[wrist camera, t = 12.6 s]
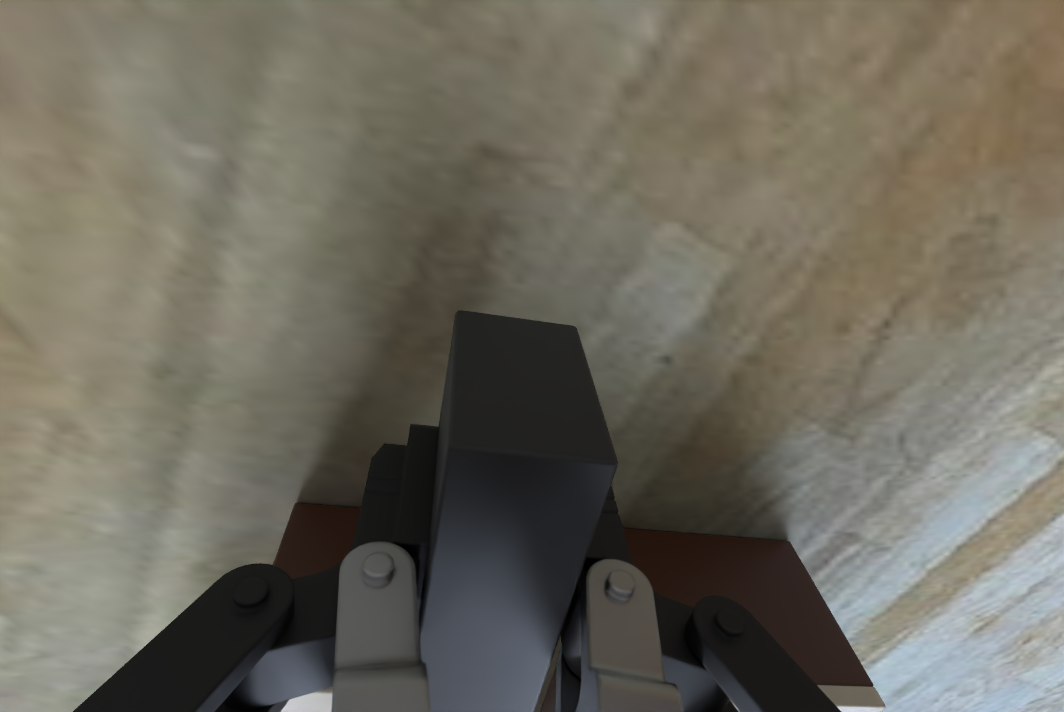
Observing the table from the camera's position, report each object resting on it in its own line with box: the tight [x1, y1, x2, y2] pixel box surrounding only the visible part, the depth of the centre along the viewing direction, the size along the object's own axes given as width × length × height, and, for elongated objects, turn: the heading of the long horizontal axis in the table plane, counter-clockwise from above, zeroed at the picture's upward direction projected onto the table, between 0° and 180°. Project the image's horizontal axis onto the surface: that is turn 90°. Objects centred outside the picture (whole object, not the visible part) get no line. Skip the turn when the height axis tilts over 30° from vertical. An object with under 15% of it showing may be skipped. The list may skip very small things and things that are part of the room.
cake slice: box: [273, 503, 360, 712], centre depth 20 cm, size 12×5×6 cm, turn 169°
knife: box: [418, 310, 618, 712], centre depth 15 cm, size 19×3×4 cm, turn 169°
